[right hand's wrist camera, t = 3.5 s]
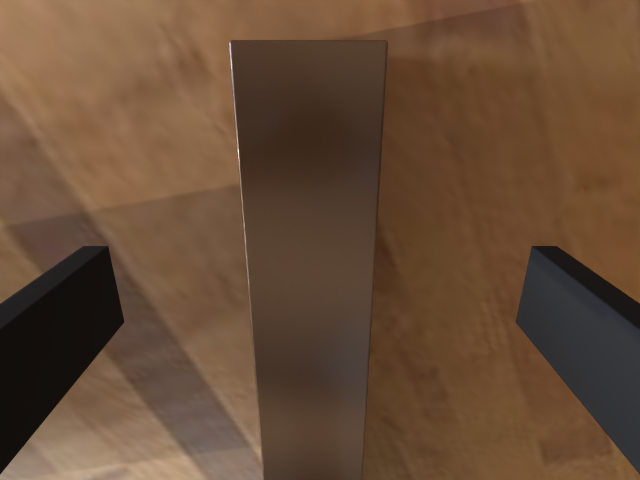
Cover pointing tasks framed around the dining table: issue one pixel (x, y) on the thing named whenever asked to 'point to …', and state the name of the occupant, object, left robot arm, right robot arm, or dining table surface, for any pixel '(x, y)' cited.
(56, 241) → the dining table surface
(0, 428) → the right robot arm
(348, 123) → the bar
